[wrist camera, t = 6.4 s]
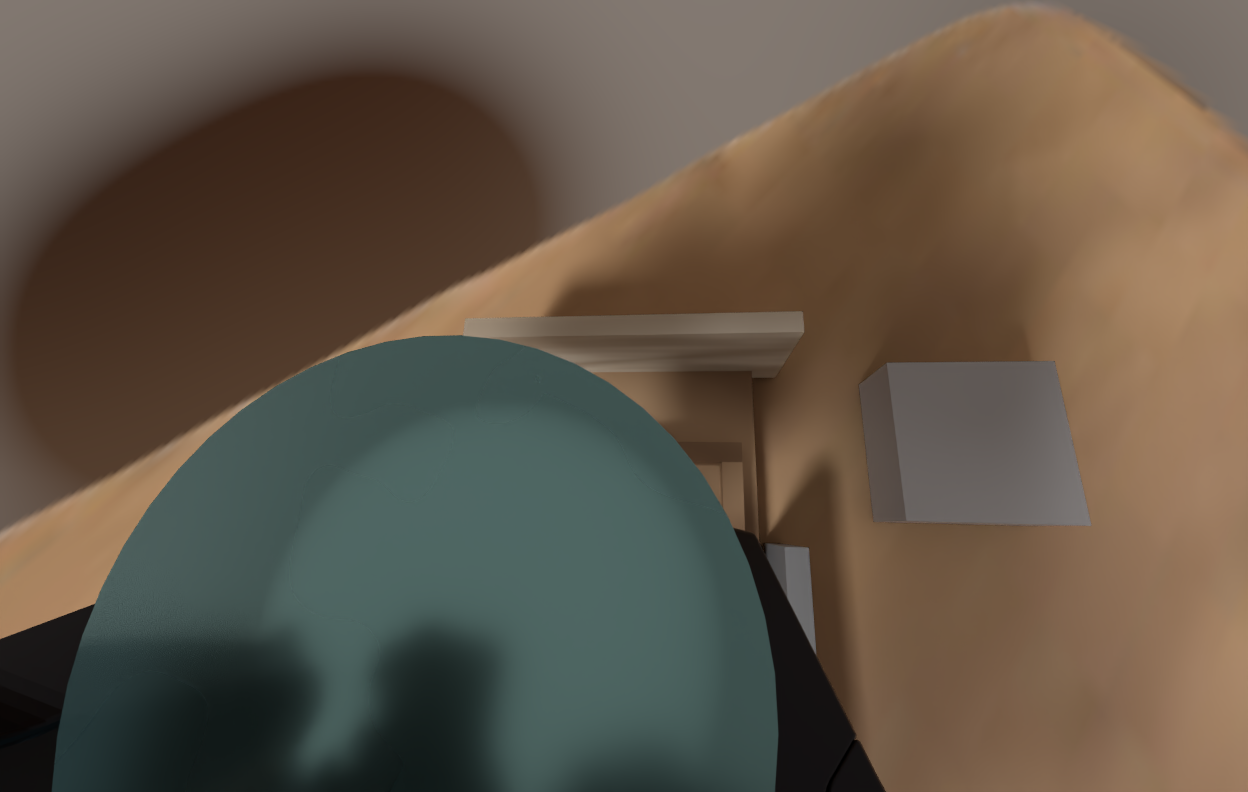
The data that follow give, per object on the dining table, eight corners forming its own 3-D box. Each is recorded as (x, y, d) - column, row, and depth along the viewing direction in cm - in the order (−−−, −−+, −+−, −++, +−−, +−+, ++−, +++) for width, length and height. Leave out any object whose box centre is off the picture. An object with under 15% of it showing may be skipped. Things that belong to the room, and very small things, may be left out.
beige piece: (792, 675, 19) (835, 730, 13) (483, 655, 20) (416, 699, 15) (774, 361, 22) (802, 311, 17) (511, 363, 23) (465, 318, 18)
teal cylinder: (729, 638, 12) (933, 1060, 2) (542, 698, 12) (24, 1337, 3) (665, 451, 13) (635, 255, 4) (499, 506, 14) (69, 447, 4)
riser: (1029, 525, 19) (1091, 525, 16) (873, 521, 20) (906, 520, 17) (1002, 384, 21) (1054, 361, 18) (858, 384, 21) (886, 362, 19)
